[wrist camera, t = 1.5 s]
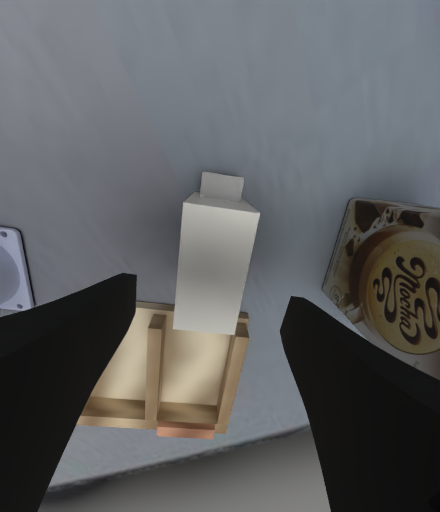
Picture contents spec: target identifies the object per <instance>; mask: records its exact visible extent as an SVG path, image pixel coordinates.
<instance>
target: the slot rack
mask: <svg viewBox="0 0 440 512" xmlns="http://www.w3.org/2000/svg"><path fill="white" fill-rule="evenodd" d="M174 309H175V305H167V304H157V303H148V302H138V301H136V313H135V316H134V318H133V320H132V323H131V325H130V327H129V330H128V332H127V334H126V335H125V337H124V339H123V340H122V342H121V344H120V345H119V347H118V349H117V350H116V352H115V354H114V355H113V357H112V359H111V360H110V362H109V363H108V365H107V367H106V368H105V370H104V372H103V373H102V375H101V377H100V378H99V380H98V382H97V384H96V385H95V387H94V389H93V391H92V393H91V395H90V397H89V399H88V401H87V403H86V405H85V407H84V409H83V411H82V413H81V415H80V418H79V420H78V422H77V424H76V425H88V426H105V427H122V428H139V429H156V430H157V436H166V437H184V438H201V439H213V436H214V433H223V434H226V431H227V427H228V423H229V419H230V415H231V410H232V406H233V402H234V398H235V394H236V390H237V386H238V382H239V378H240V374H241V370H242V365H243V361H244V357H245V353H246V349H247V345H248V341H249V335H248V330H247V326H248V321H249V317H248V313H243V312H239V316H238V320H237V325H236V330H235V334H234V335H227V334H217V333H207V332H197V331H186V330H176V329H173V321H174Z"/></svg>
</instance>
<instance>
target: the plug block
mask: <svg viewBox="0 0 440 512" xmlns="http://www.w3.org/2000/svg"><path fill="white" fill-rule="evenodd" d="M243 183H244V178H241V177H235V176H228V175H222V174H216V173H209V172H203V171H202V180H201V189H200V192H194V193H193V194H192V195H191V196H190V197H188V198H187V199H186V200H185V201H184V202H183V212H182V224H181V236H180V248H179V261H178V273H177V285H176V297H175V309H174V321H173V329H176V330H186V331H197V332H207V333H217V334H227V335H234V334H235V330H236V325H237V320H238V316H239V311H240V306H241V301H242V297H243V292H244V287H245V283H246V278H247V273H248V268H249V264H250V259H251V254H252V249H253V245H254V240H255V235H256V231H257V226H258V221H259V216H260V213H259V212H258V211H257V210H255V209H254V208H253V207H252V206H251V205H250V204H248V203H247V202H246V201H245V200H244V199H241V195H242V189H243Z"/></svg>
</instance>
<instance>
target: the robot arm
mask: <svg viewBox="0 0 440 512" xmlns="http://www.w3.org/2000/svg"><path fill="white" fill-rule="evenodd" d="M5 232H6V233H7V235H6V234H5ZM136 281H137V275H134V274H127V273H121V274H118V275H116V276H113V277H111V278H109V279H106V280H104V281H102V282H99V283H97V284H95V285H92V286H90V287H88V288H86V289H83V290H81V291H78V292H76V293H73V294H70V295H68V296H65V297H63V298H60V299H58V300H55V301H52V302H49V303H46V304H44V305H41V306H37V307H34V303H33V298H32V293H31V287H30V282H29V277H28V272H27V267H26V261H25V256H24V251H23V246H22V241H21V236H20V233H19V232H18V230H16V229H13V228H6V227H0V309H9V310H20V311H21V312H18V313H14V314H11V315H7V316H3V317H0V512H37V511H38V509H39V507H40V504H41V501H42V499H43V497H44V495H45V492H46V490H47V488H48V486H49V483H50V481H51V479H52V477H53V474H54V472H55V470H56V468H57V465H58V463H59V461H60V459H61V456H62V454H63V452H64V450H65V448H66V445H67V443H68V441H69V439H70V437H71V435H72V432H73V430H74V428H75V426H76V424H77V422H78V420H79V418H80V415H81V413H82V411H83V409H84V407H85V405H86V403H87V401H88V399H89V397H90V395H91V393H92V391H93V389H94V387H95V385H96V384H97V382H98V380H99V378H100V377H101V375H102V373H103V372H104V370H105V368H106V367H107V365H108V363H109V362H110V360H111V359H112V357H113V355H114V354H115V352H116V350H117V349H118V347H119V345H120V344H121V342H122V340H123V339H124V337H125V335H126V334H127V332H128V330H129V327H130V325H131V323H132V320H133V318H134V316H135V313H136ZM280 334H281V339H282V343H283V348H284V351H285V354H286V357H287V360H288V363H289V365H290V368H291V371H292V373H293V376H294V379H295V381H296V384H297V387H298V389H299V392H300V394H301V397H302V400H303V403H304V406H305V409H306V412H307V415H308V419H309V422H310V426H311V430H312V433H313V437H314V441H315V445H316V449H317V452H318V457H319V461H320V465H321V469H322V473H323V477H324V482H325V486H326V491H327V495H328V500H329V504H330V509H331V512H440V380H438V379H436V378H434V377H432V376H430V375H428V374H426V373H424V372H422V371H420V370H418V369H416V368H414V367H413V366H411V365H409V364H407V363H405V362H403V361H401V360H400V359H398V358H396V357H394V356H393V355H391V354H389V353H387V352H386V351H384V350H382V349H380V348H379V347H377V346H375V345H374V344H372V343H370V342H369V341H367V340H366V339H364V338H363V337H361V336H360V335H358V334H356V333H355V332H353V331H352V330H350V329H349V328H347V327H346V326H345V325H343V324H342V323H340V322H339V321H337V320H336V319H335V318H333V317H332V316H330V315H329V314H328V313H326V312H325V311H323V310H322V309H320V308H319V307H318V306H316V305H315V304H313V303H312V302H310V301H308V300H307V299H305V298H302V297H294V296H291V298H290V301H289V304H288V307H287V310H286V313H285V316H284V319H283V323H282V326H281V329H280Z"/></svg>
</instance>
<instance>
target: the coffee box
mask: <svg viewBox="0 0 440 512" xmlns="http://www.w3.org/2000/svg"><path fill="white" fill-rule="evenodd" d="M322 291H323V292H324V293H325V294H326V295H327V297H328V298H329V299H330V300H331V301H332V302H333V303H334V304H335V305H336V306H337V307H338V308H339V310H340V311H341V312H342V313H343V314H344V315H345V316H346V317H347V318H348V319H349V320H350V322H351V323H352V324H353V325H354V326H355V327H356V328H357V329H358V330H359V332H360V333H361V334H362V335H363V336H364V337H365V338H366V339H367V340H368V341H369V342H370V343H372V344H374V345H375V346H377V347H379V348H380V349H382V350H384V351H386V352H387V353H389V354H391V355H393V356H394V357H396V358H398V359H400V360H401V361H403V362H405V363H407V364H409V365H411V366H413V367H414V368H416V369H418V370H420V371H422V372H424V373H426V374H428V375H430V376H432V377H434V378H436V379H438V380H440V208H436V207H430V206H424V205H418V204H410V203H402V202H392V201H383V200H374V199H362V198H353V199H351V200H350V201H349V204H348V208H347V211H346V214H345V217H344V221H343V224H342V227H341V230H340V233H339V237H338V240H337V243H336V246H335V249H334V253H333V256H332V259H331V262H330V266H329V269H328V272H327V275H326V278H325V282H324V285H323V288H322Z"/></svg>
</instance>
